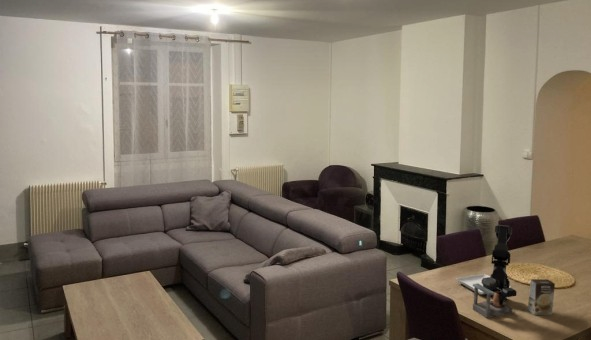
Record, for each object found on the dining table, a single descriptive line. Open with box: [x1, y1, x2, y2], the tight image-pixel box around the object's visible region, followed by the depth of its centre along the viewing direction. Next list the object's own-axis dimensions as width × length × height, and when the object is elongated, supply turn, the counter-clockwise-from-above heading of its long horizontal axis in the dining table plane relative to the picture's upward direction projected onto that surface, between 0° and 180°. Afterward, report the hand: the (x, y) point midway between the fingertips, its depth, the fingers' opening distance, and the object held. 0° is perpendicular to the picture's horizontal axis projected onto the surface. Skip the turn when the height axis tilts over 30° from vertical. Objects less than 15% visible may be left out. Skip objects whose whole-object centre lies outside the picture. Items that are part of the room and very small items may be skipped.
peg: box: [492, 291, 501, 308], centre depth 245 cm, size 4×4×8 cm
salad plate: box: [455, 273, 512, 295], centre depth 275 cm, size 21×21×3 cm
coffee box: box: [527, 278, 556, 316], centre depth 243 cm, size 9×6×16 cm
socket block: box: [472, 283, 514, 319], centre depth 244 cm, size 16×12×13 cm
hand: (497, 303), depth 246 cm, fingers closed on peg, 4 cm apart
